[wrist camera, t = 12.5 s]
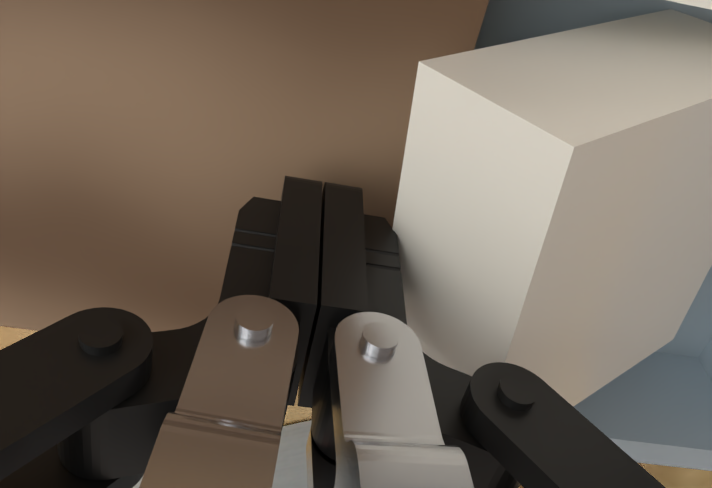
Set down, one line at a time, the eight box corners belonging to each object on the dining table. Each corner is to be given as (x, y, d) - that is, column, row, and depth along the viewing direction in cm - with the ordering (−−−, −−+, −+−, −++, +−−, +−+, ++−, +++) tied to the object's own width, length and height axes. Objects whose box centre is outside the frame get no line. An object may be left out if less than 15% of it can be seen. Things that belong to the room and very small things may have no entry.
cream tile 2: (418, 61, 10) (574, 147, 9) (671, 8, 14) (817, 61, 12) (369, 375, 15) (467, 477, 13) (574, 271, 18) (673, 339, 16)
